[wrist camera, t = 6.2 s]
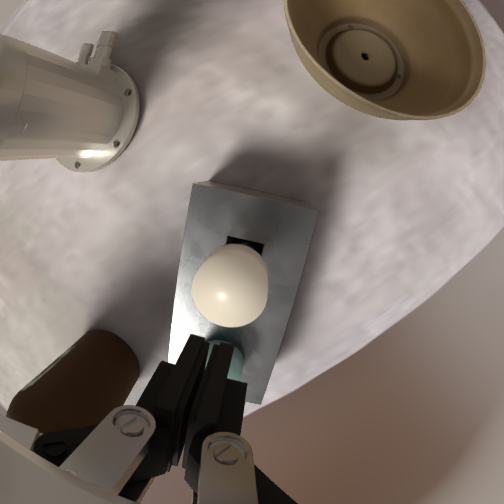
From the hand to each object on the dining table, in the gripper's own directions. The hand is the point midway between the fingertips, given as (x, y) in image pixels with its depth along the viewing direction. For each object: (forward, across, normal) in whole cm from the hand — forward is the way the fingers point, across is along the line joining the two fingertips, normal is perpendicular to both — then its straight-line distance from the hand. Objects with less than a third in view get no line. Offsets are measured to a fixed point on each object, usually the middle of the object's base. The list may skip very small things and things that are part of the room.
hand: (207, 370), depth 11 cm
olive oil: (+20, +15, +20) cm, 32 cm away
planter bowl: (+20, -7, -21) cm, 30 cm away
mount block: (+20, 0, +5) cm, 21 cm away
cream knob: (+16, 0, 0) cm, 16 cm away
